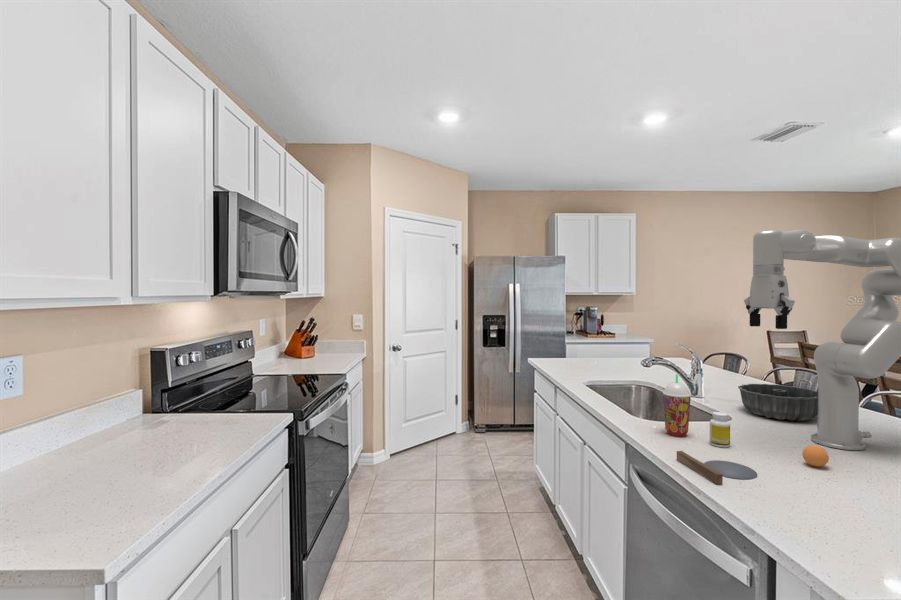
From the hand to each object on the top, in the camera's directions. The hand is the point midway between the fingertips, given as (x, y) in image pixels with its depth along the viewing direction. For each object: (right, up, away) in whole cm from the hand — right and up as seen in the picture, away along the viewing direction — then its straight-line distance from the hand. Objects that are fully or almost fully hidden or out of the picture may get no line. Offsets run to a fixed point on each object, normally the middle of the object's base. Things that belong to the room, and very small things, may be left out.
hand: (767, 327), depth 131 cm
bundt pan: (+30, -37, +35) cm, 58 cm away
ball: (+2, -34, -14) cm, 37 cm away
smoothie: (-21, -37, +13) cm, 44 cm away
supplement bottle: (-13, -37, +2) cm, 39 cm away
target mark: (-23, -37, -17) cm, 46 cm away
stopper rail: (-31, -37, -18) cm, 52 cm away
